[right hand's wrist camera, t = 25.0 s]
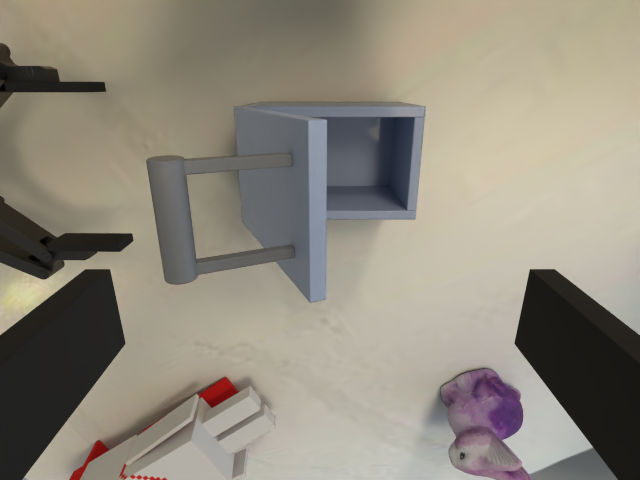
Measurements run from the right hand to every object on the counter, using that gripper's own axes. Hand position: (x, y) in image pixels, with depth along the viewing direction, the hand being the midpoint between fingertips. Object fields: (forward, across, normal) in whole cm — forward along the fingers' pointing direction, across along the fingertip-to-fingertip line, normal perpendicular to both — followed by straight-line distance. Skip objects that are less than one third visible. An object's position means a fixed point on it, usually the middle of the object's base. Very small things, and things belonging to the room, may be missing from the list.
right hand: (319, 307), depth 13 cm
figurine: (+36, +22, -35) cm, 55 cm away
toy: (+36, -21, -42) cm, 59 cm away
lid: (+17, -3, 0) cm, 17 cm away
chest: (+36, +1, 0) cm, 36 cm away
